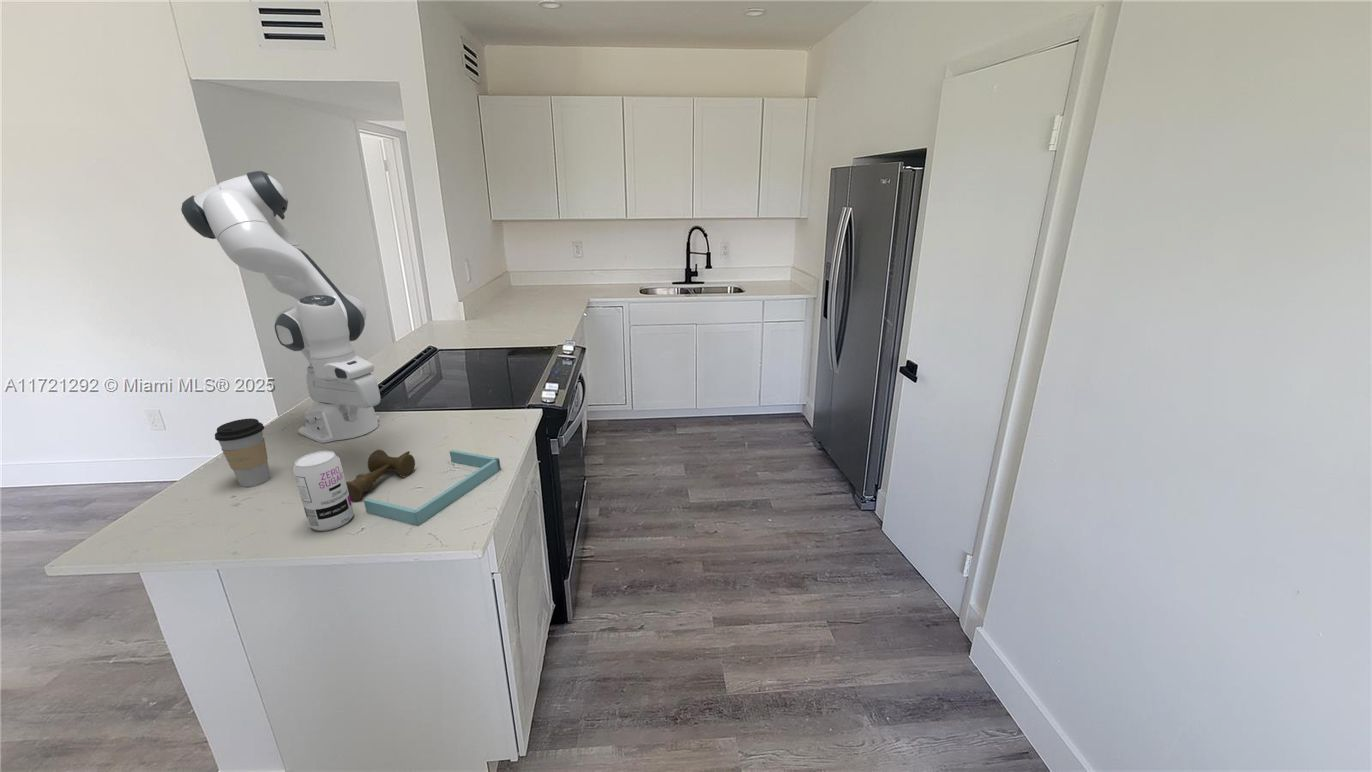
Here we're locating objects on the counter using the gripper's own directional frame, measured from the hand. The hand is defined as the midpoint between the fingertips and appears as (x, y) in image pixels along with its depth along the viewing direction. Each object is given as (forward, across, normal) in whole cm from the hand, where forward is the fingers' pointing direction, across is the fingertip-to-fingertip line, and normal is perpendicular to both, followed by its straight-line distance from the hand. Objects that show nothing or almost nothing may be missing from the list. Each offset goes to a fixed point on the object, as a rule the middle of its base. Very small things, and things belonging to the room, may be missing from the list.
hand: (350, 420), depth 133 cm
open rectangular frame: (+15, +23, 0) cm, 28 cm away
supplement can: (+15, +13, -18) cm, 26 cm away
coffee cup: (+14, -23, -12) cm, 29 cm away
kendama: (+15, +8, -1) cm, 17 cm away
